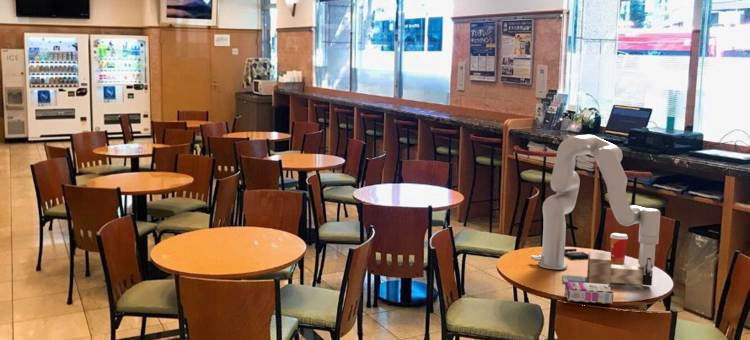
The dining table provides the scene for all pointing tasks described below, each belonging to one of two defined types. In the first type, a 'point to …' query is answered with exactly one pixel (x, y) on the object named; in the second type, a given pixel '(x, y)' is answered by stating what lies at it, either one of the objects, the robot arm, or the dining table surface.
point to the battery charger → (575, 254)
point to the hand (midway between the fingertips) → (645, 282)
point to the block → (627, 274)
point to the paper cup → (618, 247)
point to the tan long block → (599, 272)
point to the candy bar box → (589, 292)
